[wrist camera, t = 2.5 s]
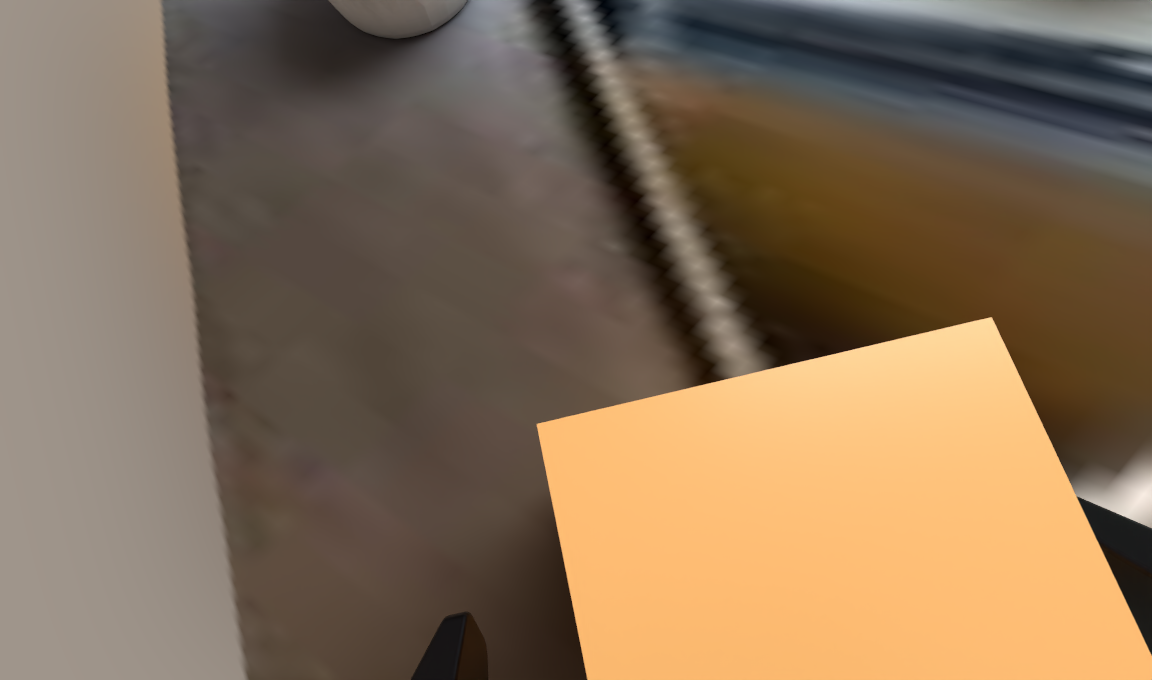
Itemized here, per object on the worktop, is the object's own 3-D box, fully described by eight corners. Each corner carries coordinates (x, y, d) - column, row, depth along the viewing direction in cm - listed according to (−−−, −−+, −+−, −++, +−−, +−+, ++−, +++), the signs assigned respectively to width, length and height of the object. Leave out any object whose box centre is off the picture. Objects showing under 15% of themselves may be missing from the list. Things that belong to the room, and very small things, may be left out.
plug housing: (777, 586, 16) (1263, 892, 4) (632, 618, 16) (654, 1017, 4) (732, 439, 17) (990, 317, 5) (598, 470, 17) (536, 423, 5)
